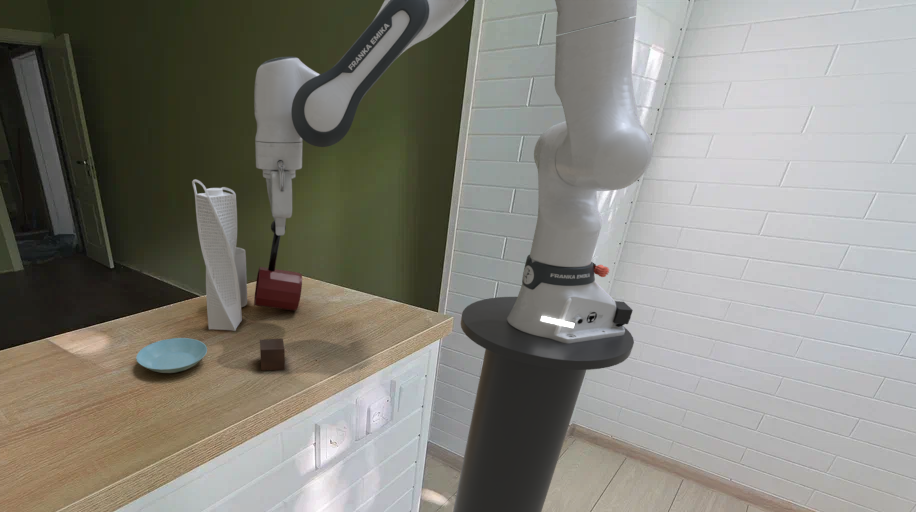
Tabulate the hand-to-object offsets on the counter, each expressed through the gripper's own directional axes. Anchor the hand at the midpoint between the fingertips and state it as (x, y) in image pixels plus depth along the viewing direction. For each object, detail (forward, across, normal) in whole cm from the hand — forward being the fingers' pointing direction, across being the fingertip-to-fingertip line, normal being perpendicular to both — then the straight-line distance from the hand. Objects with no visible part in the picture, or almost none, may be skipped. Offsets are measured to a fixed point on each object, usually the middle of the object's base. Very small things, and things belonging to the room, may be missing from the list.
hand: (279, 231), depth 97 cm
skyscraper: (+17, -7, +12) cm, 22 cm away
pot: (+8, 0, -5) cm, 9 cm away
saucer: (+17, -23, +20) cm, 35 cm away
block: (+17, -25, +3) cm, 30 cm away
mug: (+17, +3, +11) cm, 21 cm away
